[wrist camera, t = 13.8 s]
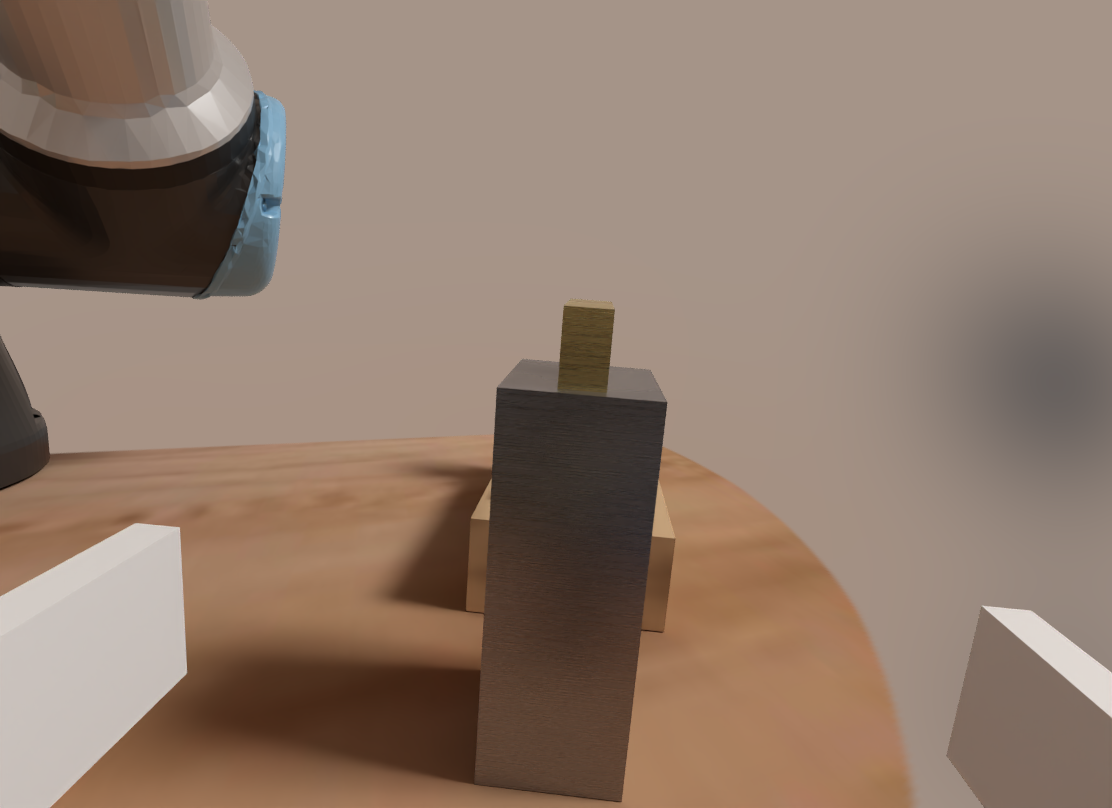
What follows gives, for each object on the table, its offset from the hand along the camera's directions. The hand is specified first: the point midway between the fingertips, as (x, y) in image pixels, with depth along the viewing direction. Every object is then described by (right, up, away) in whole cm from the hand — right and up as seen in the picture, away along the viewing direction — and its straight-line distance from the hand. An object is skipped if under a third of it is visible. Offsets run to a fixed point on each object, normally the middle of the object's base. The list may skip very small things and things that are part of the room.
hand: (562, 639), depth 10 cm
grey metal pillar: (0, -6, +9) cm, 11 cm away
